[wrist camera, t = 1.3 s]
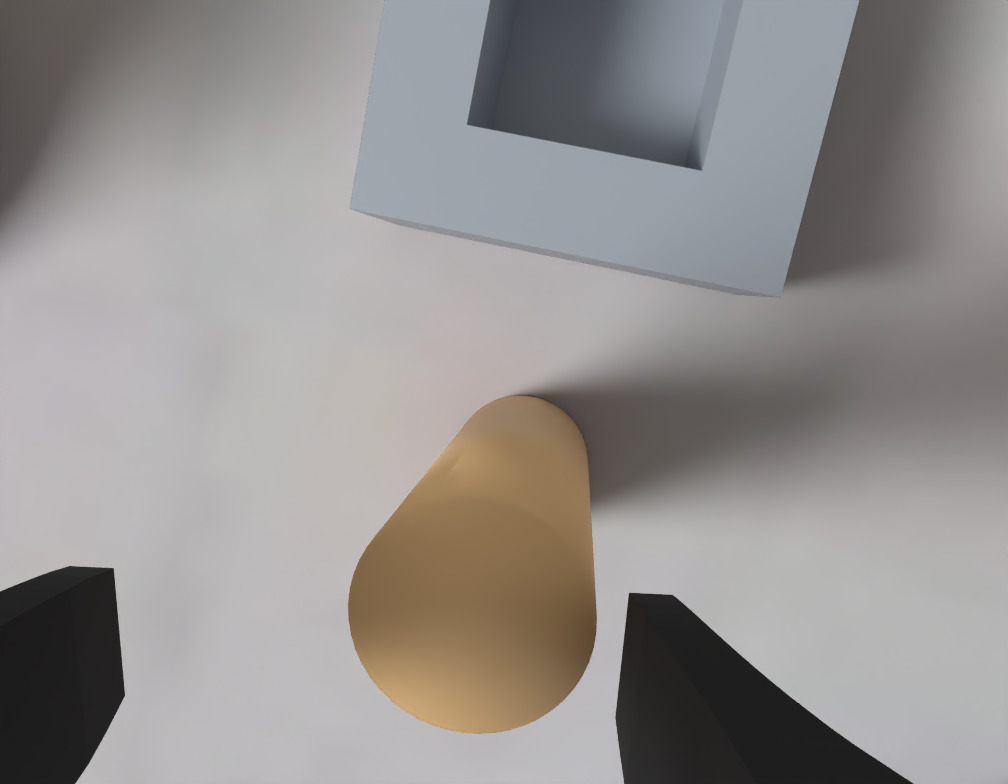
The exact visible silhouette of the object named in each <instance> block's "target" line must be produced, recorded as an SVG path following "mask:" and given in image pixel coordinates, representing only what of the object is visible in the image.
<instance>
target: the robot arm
mask: <svg viewBox="0 0 1008 784" xmlns="http://www.w3.org/2000/svg"><path fill="white" fill-rule="evenodd" d="M124 696H125V691H124V680H123V669H122V657H121V646H120V635H119V624H118V612H117V601H116V590H115V578H114V568H96V567H75V566H69V567H65V568H62V569H59V570H55V571H52V572H49V573H46V574H44V575H41V576H38V577H36V578H33V579H30V580H28V581H25V582H23V583H20V584H18V585H15V586H13V587H10V588H8V589H5V590H3V591H0V784H75V783H76V782H77V780H78V779H79V777H80V776H81V774H82V773H83V771H84V770H85V768H86V767H87V765H88V764H89V762H90V760H91V759H92V757H93V755H94V753H95V751H96V750H97V748H98V746H99V744H100V742H101V741H102V739H103V737H104V735H105V733H106V732H107V730H108V728H109V726H110V724H111V722H112V720H113V718H114V716H115V714H116V712H117V710H118V708H119V706H120V704H121V702H122V700H123V698H124ZM616 725H617V733H618V741H619V749H620V756H621V763H622V770H623V777H624V784H913V783H912V782H910V781H909V780H907V779H905V778H904V777H902V776H901V775H899V774H898V773H896V772H895V771H893V770H892V769H890V768H889V767H887V766H886V765H884V764H883V763H881V762H880V761H878V760H876V759H875V758H873V757H872V756H870V755H869V754H867V753H866V752H864V751H863V750H861V749H860V748H858V747H857V746H855V745H854V744H852V743H851V742H850V741H848V740H847V739H845V738H844V737H843V736H841V735H840V734H838V733H837V732H835V731H834V730H833V729H831V728H830V727H829V726H827V725H826V724H825V723H823V722H822V721H821V720H819V719H818V718H817V717H816V716H814V715H813V714H812V713H810V712H809V711H808V710H806V709H805V708H804V707H803V706H801V705H800V704H799V703H797V702H796V701H795V700H793V699H792V698H791V697H790V696H788V695H787V694H786V693H785V692H783V691H782V690H781V689H780V688H779V687H777V686H776V685H775V684H774V683H772V682H771V681H770V680H769V679H768V678H766V677H765V676H764V675H763V674H762V673H761V672H759V671H758V670H757V669H756V668H755V667H753V666H752V665H751V664H750V663H749V662H748V661H747V660H745V659H744V658H743V657H742V656H741V655H740V654H739V653H737V652H736V651H735V650H734V649H733V648H732V647H731V646H730V645H728V644H727V643H726V642H725V641H724V640H723V639H722V638H721V637H720V636H718V635H717V634H716V633H715V632H714V631H713V630H712V629H711V628H710V627H709V626H707V625H706V624H705V623H704V622H703V621H702V620H701V619H700V618H699V617H698V616H696V615H695V614H694V613H693V612H692V611H691V610H690V609H689V608H687V607H686V606H685V605H684V604H683V603H682V602H681V601H679V600H678V599H677V598H676V597H674V596H673V595H662V594H641V593H629V599H628V608H627V617H626V626H625V636H624V645H623V654H622V663H621V672H620V681H619V690H618V699H617V708H616Z"/></svg>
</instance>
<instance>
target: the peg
mask: <svg viewBox="0 0 1008 784" xmlns="http://www.w3.org/2000/svg"><path fill="white" fill-rule="evenodd" d="M348 613H349V624H350V631H351V636H352V639H353V642H354V646H355V649H356V651H357V654H358V656H359V658H360V660H361V663H362V664H363V666H364V668H365V669H366V671H367V673H368V674H369V676H370V677H371V679H372V680H373V681H374V683H375V684H376V685H377V686H378V688H379V689H380V690H381V691H382V692H383V693H384V694H385V695H386V696H387V697H388V698H389V699H390V700H391V701H392V702H394V703H395V704H396V705H398V706H399V707H400V708H401V709H403V710H404V711H406V712H407V713H409V714H411V715H412V716H414V717H416V718H417V719H420V720H422V721H424V722H426V723H429V724H431V725H434V726H437V727H440V728H443V729H446V730H451V731H456V732H462V733H475V734H482V733H496V732H501V731H507V730H511V729H514V728H518V727H521V726H524V725H526V724H528V723H530V722H533V721H535V720H537V719H539V718H540V717H542V716H544V715H545V714H547V713H548V712H550V711H551V710H553V709H554V708H555V707H556V706H557V705H559V704H560V703H561V702H562V701H563V700H564V699H565V698H566V697H567V696H568V695H569V694H570V692H571V691H572V690H573V689H574V688H575V686H576V685H577V683H578V682H579V680H580V679H581V677H582V676H583V673H584V671H585V669H586V667H587V665H588V663H589V660H590V657H591V654H592V651H593V648H594V642H595V636H596V621H597V614H596V596H595V578H594V560H593V542H592V524H591V505H590V487H589V469H588V455H587V449H586V445H585V441H584V439H583V436H582V434H581V432H580V430H579V428H578V427H577V425H576V424H575V423H574V421H573V420H572V419H571V418H570V417H569V416H568V415H567V414H566V413H565V412H564V411H563V410H561V409H560V408H559V407H557V406H555V405H554V404H552V403H550V402H548V401H545V400H543V399H539V398H536V397H530V396H509V397H505V398H501V399H498V400H495V401H493V402H491V403H489V404H487V405H485V406H484V407H482V408H481V409H480V410H478V411H477V412H476V413H475V414H474V415H473V416H472V417H471V418H470V419H469V421H468V422H467V423H466V424H465V426H464V427H463V428H462V429H461V431H460V432H459V433H458V434H457V435H456V437H455V438H454V439H453V440H452V442H451V443H450V444H449V445H448V447H447V448H446V449H445V450H444V452H443V453H442V454H441V455H440V457H439V458H438V459H437V460H436V462H435V463H434V464H433V465H432V467H431V468H430V469H429V470H428V471H427V473H426V474H425V475H424V476H423V478H422V479H421V480H420V481H419V483H418V484H417V485H416V486H415V488H414V489H413V490H412V491H411V493H410V494H409V495H408V496H407V498H406V499H405V500H404V501H403V503H402V504H401V505H400V506H399V507H398V509H397V510H396V511H395V512H394V514H393V515H392V516H391V517H390V519H389V520H388V521H387V522H386V524H385V525H384V526H383V527H382V529H381V530H380V531H379V532H378V534H377V535H376V536H375V537H374V539H373V540H372V541H371V542H370V544H369V545H368V546H367V548H366V550H365V551H364V553H363V555H362V556H361V558H360V560H359V562H358V565H357V567H356V570H355V572H354V575H353V579H352V583H351V587H350V593H349V602H348Z"/></svg>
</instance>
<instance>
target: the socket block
mask: <svg viewBox="0 0 1008 784" xmlns="http://www.w3.org/2000/svg"><path fill="white" fill-rule="evenodd" d="M858 4H859V0H384V5H383V11H382V17H381V23H380V29H379V35H378V41H377V47H376V53H375V59H374V66H373V72H372V78H371V84H370V90H369V96H368V102H367V108H366V114H365V120H364V126H363V132H362V138H361V144H360V150H359V156H358V162H357V168H356V174H355V180H354V186H353V192H352V198H351V204H350V209H351V210H354V211H358V212H361V213H364V214H367V215H370V216H373V217H376V218H379V219H382V220H385V221H388V222H391V223H394V224H397V225H402V226H407V227H412V228H417V229H422V230H427V231H431V232H436V233H441V234H446V235H451V236H456V237H461V238H465V239H470V240H475V241H480V242H485V243H490V244H495V245H499V246H504V247H509V248H514V249H519V250H524V251H529V252H533V253H538V254H543V255H548V256H553V257H558V258H563V259H567V260H572V261H577V262H582V263H587V264H592V265H597V266H602V267H606V268H611V269H616V270H621V271H626V272H631V273H636V274H640V275H645V276H650V277H655V278H660V279H665V280H670V281H674V282H679V283H684V284H689V285H694V286H699V287H704V288H708V289H713V290H718V291H723V292H728V293H733V294H738V295H752V296H767V297H781V294H782V291H783V287H784V283H785V279H786V276H787V272H788V268H789V264H790V260H791V257H792V253H793V249H794V245H795V242H796V238H797V234H798V230H799V226H800V223H801V219H802V215H803V211H804V208H805V204H806V200H807V196H808V192H809V189H810V185H811V181H812V177H813V174H814V170H815V166H816V162H817V159H818V155H819V151H820V147H821V143H822V140H823V136H824V132H825V128H826V125H827V121H828V117H829V113H830V109H831V106H832V102H833V98H834V94H835V91H836V87H837V83H838V79H839V75H840V72H841V68H842V64H843V60H844V57H845V53H846V49H847V45H848V41H849V38H850V34H851V30H852V26H853V23H854V19H855V15H856V11H857V7H858Z"/></svg>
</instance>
